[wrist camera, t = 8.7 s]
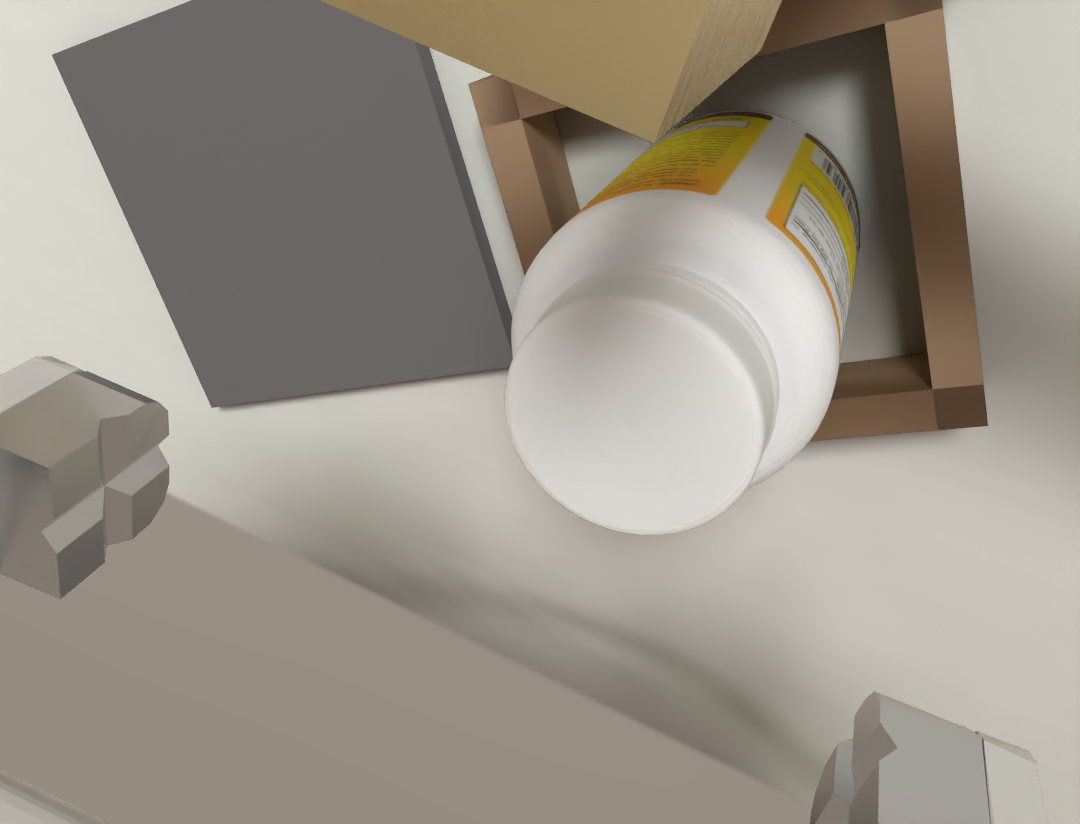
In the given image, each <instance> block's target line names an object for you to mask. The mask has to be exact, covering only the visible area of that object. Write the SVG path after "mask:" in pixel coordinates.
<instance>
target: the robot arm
mask: <svg viewBox="0 0 1080 824" xmlns="http://www.w3.org/2000/svg"><path fill="white" fill-rule="evenodd" d="M168 435H169V422H168V410H167V409H166V408H164V407H163V406H162V405H161V404H160V403H159V402H157V401H155V400H152V399H150V398H148V397H146V396H143V395H141V394H139V393H136V392H134V391H132V390H129V389H127V388H125V387H123V386H120V385H118V384H116V383H113V382H111V381H109V380H106V379H104V378H102V377H99V376H97V375H95V374H93V373H90V372H88V371H83V370H81V369H79V368H76V367H74V366H72V365H70V364H67V363H65V362H63V361H60V360H58V359H56V358H54V357H34V358H33V359H31V360H29V361H27V362H25V363H23V364H21V365H19V366H17V367H15V368H14V369H12V370H10V371H8V372H6V373H4V374H2V375H0V574H2V575H4V576H6V577H9V578H12V579H14V580H16V581H18V582H21V583H23V584H26V585H28V586H30V587H33V588H35V589H38V590H40V591H42V592H45V593H47V594H49V595H52V596H54V597H57V598H59V599H61V598H62V597H64V596H65V595H66V594H67V593H68V592H70V591H71V590H72V589H73V588H75V587H76V586H77V585H78V584H79V583H81V582H82V581H83V580H84V579H85V578H86V577H88V576H89V575H90V574H91V573H92V572H94V571H95V570H96V569H97V568H99V567H100V566H101V565H102V564H103V563H105V556H106V548H107V546H108V545H111V544H115V543H119V542H123V541H127V540H131V539H133V538H134V537H135V536H137V535H138V534H139V533H140V532H141V531H142V530H143V529H145V528H146V527H147V526H148V525H149V524H150V523H151V522H152V520H153V518H154V517H155V515H156V514H157V512H158V510H159V509H160V507H161V506H162V504H163V503H164V499H165V496H166V492H167V489H168V485H169V465H168V463H167V461H166V459H165V457H164V456H163V454H162V452H161V450H160V449H159V447H158V445H159V444H160V443H161V442H162V441H163V440H164V439H165V438H166V437H167V436H168ZM0 824H109V823H107V822H105V821H103V820H100V819H98V818H96V817H94V816H92V815H90V814H88V813H86V812H84V811H82V810H80V809H78V808H76V807H74V806H72V805H70V804H68V803H66V802H64V801H62V800H60V799H58V798H56V797H54V796H52V795H50V794H48V793H46V792H44V791H42V790H40V789H38V788H36V787H34V786H32V785H30V784H28V783H26V782H24V781H22V780H20V779H18V778H16V777H14V776H12V775H10V774H8V773H6V772H4V771H1V770H0ZM810 824H1046V818H1045V812H1044V806H1043V800H1042V794H1041V788H1040V782H1039V776H1038V770H1037V764H1036V760H1035V759H1034V757H1033V756H1032V754H1031V753H1030V751H1028V750H1025V749H1023V748H1020V747H1017V746H1015V745H1012V744H1010V743H1007V742H1004V741H1002V740H999V739H997V738H994V737H991V736H989V735H986V734H983V733H981V732H978V731H975V732H974V731H972V730H971V729H968V728H966V727H963V726H961V725H958V724H956V723H953V722H951V721H948V720H945V719H943V718H940V717H938V716H935V715H933V714H930V713H928V712H925V711H923V710H920V709H918V708H915V707H913V706H910V705H908V704H905V703H903V702H900V701H898V700H895V699H893V698H890V697H887V696H885V695H882V694H880V693H877V692H875V691H874V692H873V693H872V694H871V695H869V696H868V697H867V698H866V699H865V700H864V702H863V704H862V705H861V707H860V708H859V710H858V711H857V713H856V715H855V720H854V735H853V739H851V740H848V741H845V742H842V743H839V744H837V746H836V748H835V749H834V751H833V753H832V755H831V756H830V758H829V760H828V762H827V764H826V765H825V768H824V770H823V773H822V776H821V778H820V781H819V784H818V787H817V789H816V793H815V798H814V802H813V807H812V812H811V821H810Z"/></svg>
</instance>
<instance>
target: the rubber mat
mask: <svg viewBox="0 0 1080 824" xmlns="http://www.w3.org/2000/svg"><path fill="white" fill-rule="evenodd" d="M52 56H53V59H54V61H55V63H56V65H57V67H58V70H59V72H60V74H61V76H62V78H63V81H64V83H65V85H66V87H67V89H68V92H69V94H70V96H71V98H72V100H73V103H74V105H75V107H76V109H77V111H78V114H79V116H80V118H81V120H82V123H83V125H84V127H85V129H86V131H87V134H88V136H89V138H90V140H91V142H92V145H93V147H94V149H95V151H96V153H97V156H98V158H99V160H100V162H101V164H102V167H103V169H104V171H105V173H106V175H107V178H108V180H109V182H110V184H111V186H112V189H113V191H114V193H115V195H116V197H117V200H118V202H119V204H120V206H121V208H122V211H123V213H124V215H125V217H126V220H127V222H128V224H129V226H130V228H131V231H132V233H133V235H134V237H135V239H136V242H137V244H138V246H139V248H140V250H141V253H142V255H143V257H144V259H145V261H146V264H147V266H148V268H149V270H150V272H151V275H152V277H153V279H154V281H155V283H156V286H157V288H158V290H159V292H160V294H161V297H162V299H163V301H164V303H165V306H166V308H167V310H168V312H169V314H170V317H171V319H172V321H173V323H174V325H175V328H176V330H177V332H178V334H179V336H180V339H181V341H182V343H183V345H184V347H185V350H186V352H187V354H188V356H189V358H190V361H191V363H192V365H193V367H194V369H195V372H196V374H197V376H198V378H199V380H200V383H201V385H202V387H203V389H204V391H205V394H206V396H207V398H208V400H209V403H210V405H211V407H212V408H213V407H220V406H228V405H235V404H242V403H250V402H257V401H264V400H272V399H279V398H286V397H294V396H301V395H309V394H316V393H323V392H331V391H338V390H345V389H353V388H360V387H367V386H375V385H382V384H389V383H397V382H404V381H411V380H419V379H426V378H433V377H441V376H448V375H455V374H463V373H470V372H477V371H485V370H492V369H499V368H507V367H510V365H511V362H512V360H513V355H512V344H511V326H512V317H511V313H510V310H509V307H508V304H507V300H506V297H505V294H504V291H503V287H502V284H501V281H500V278H499V274H498V271H497V268H496V265H495V261H494V258H493V255H492V252H491V248H490V245H489V242H488V238H487V235H486V232H485V229H484V225H483V222H482V219H481V216H480V212H479V209H478V206H477V203H476V199H475V196H474V193H473V190H472V186H471V183H470V180H469V177H468V173H467V170H466V167H465V164H464V160H463V157H462V154H461V151H460V147H459V144H458V141H457V138H456V134H455V131H454V128H453V125H452V121H451V118H450V115H449V112H448V108H447V105H446V102H445V99H444V95H443V92H442V89H441V86H440V82H439V79H438V76H437V73H436V69H435V66H434V63H433V60H432V56H431V53H430V50H429V47H427V46H425V45H423V44H420V43H418V42H416V41H413V40H411V39H409V38H406V37H404V36H402V35H399V34H397V33H395V32H392V31H390V30H388V29H385V28H383V27H381V26H378V25H376V24H374V23H371V22H369V21H366V20H364V19H362V18H359V17H357V16H355V15H352V14H350V13H348V12H345V11H343V10H341V9H338V8H336V7H334V6H331V5H329V4H327V3H324V2H322V1H320V0H192V1H189V2H186V3H184V4H181V5H179V6H176V7H174V8H171V9H168V10H166V11H163V12H161V13H158V14H156V15H153V16H150V17H148V18H145V19H143V20H140V21H138V22H135V23H132V24H130V25H127V26H125V27H122V28H120V29H117V30H115V31H112V32H109V33H107V34H104V35H102V36H99V37H97V38H94V39H91V40H89V41H86V42H84V43H81V44H79V45H76V46H73V47H71V48H68V49H66V50H63V51H61V52H58V53H55V54H53V55H52Z"/></svg>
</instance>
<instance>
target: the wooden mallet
mask: <svg viewBox="0 0 1080 824" xmlns="http://www.w3.org/2000/svg"><path fill="white" fill-rule="evenodd" d="M320 1H322V2H324V3H327V4H329V5H331V6H334V7H336V8H338V9H341V10H343V11H345V12H348V13H350V14H352V15H355V16H357V17H359V18H362V19H364V20H366V21H369V22H371V23H374V24H376V25H378V26H381V27H383V28H385V29H388V30H390V31H392V32H395V33H397V34H399V35H402V36H404V37H406V38H409V39H411V40H413V41H416V42H418V43H420V44H423V45H425V46H427V47H430V48H432V49H434V50H437V51H439V52H441V53H444V54H446V55H448V56H451V57H453V58H455V59H458V60H460V61H462V62H465V63H467V64H469V65H472V66H474V67H476V68H479V69H481V70H483V71H486V72H488V73H490V74H493V75H495V76H497V77H500V78H502V79H504V80H507V81H509V82H511V83H514V84H516V85H518V86H521V87H523V88H525V89H528V90H530V91H532V92H535V93H537V94H539V95H542V96H544V97H546V98H549V99H551V100H553V101H556V102H558V103H560V104H563V105H565V106H567V107H570V108H572V109H574V110H577V111H579V112H581V113H584V114H586V115H589V116H591V117H593V118H596V119H598V120H600V121H603V122H605V123H607V124H610V125H612V126H614V127H617V128H619V129H621V130H624V131H626V132H628V133H631V134H633V135H635V136H638V137H640V138H642V139H645V140H647V141H649V142H652V143H655V142H656V141H658V140H659V139H660V138H661V137H662V136H663V135H664V134H666V133H667V132H668V131H669V130H670V129H671V128H672V127H674V126H675V125H676V124H677V123H678V122H679V121H680V120H682V119H683V118H684V117H685V116H686V115H687V114H688V113H690V112H691V111H692V110H693V109H694V108H695V107H696V106H698V105H699V104H700V103H701V102H702V101H703V100H704V99H706V98H707V97H708V96H709V95H710V94H711V93H712V92H713V91H715V90H716V89H717V88H718V87H719V86H720V85H721V84H723V83H724V82H725V81H726V80H727V79H728V78H729V77H731V76H732V75H733V74H734V73H735V72H736V71H737V70H739V69H740V68H741V67H742V66H743V65H744V64H745V63H747V62H748V61H749V60H750V59H751V58H752V57H753V56H755V55H756V54H757V53H758V52H759V51H760V50H761V49H762V46H763V44H764V42H765V39H766V37H767V35H768V32H769V30H770V28H771V25H772V23H773V21H774V18H775V16H776V13H777V11H778V9H779V6H780V4H781V2H782V0H320Z"/></svg>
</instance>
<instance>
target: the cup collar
mask: <svg viewBox="0 0 1080 824" xmlns="http://www.w3.org/2000/svg"><path fill="white" fill-rule="evenodd" d="M884 23H885V31H886V38H887V46H888V54H889V61H890V69H891V77H892V84H893V92H894V99H895V107H896V115H897V122H898V130H899V138H900V145H901V153H902V160H903V168H904V176H905V183H906V191H907V199H908V206H909V214H910V221H911V229H912V237H913V244H914V252H915V260H916V267H917V275H918V282H919V290H920V298H921V305H922V313H923V321H924V328H925V336H926V343H927V351H928V353H926V354H918V355H909V356H901V357H892V358H884V359H875V360H867V361H858V362H850V363H841V364H839V369H838V375H837V379H836V384H835V387H834V391H833V394H832V398H831V401H830V404H829V406H828V409H827V412H826V414H825V416H824V418H823V420H822V422H821V424H820V425H819V427H818V429H817V431H816V432H815V434H814V435H813V437H812V438H811V440H810V441H815V440H827V439H839V438H850V437H862V436H874V435H886V434H898V433H909V432H921V431H933V430H945V429H956V428H968V427H980V426H988V422H987V412H986V403H985V394H984V385H983V376H982V366H981V357H980V348H979V339H978V329H977V320H976V311H975V302H974V293H973V283H972V274H971V265H970V256H969V246H968V237H967V228H966V219H965V209H964V200H963V191H962V182H961V173H960V163H959V154H958V145H957V136H956V126H955V117H954V108H953V99H952V89H951V80H950V71H949V62H948V53H947V43H946V34H945V25H944V16H943V6H942V0H782V2H781V4H780V6H779V9H778V11H777V13H776V16H775V18H774V21H773V23H772V25H771V28H770V30H769V32H768V35H767V37H766V39H765V42H764V44H763V46H762V49H761V50H760V51H759V52H758V53H757V54H756V55H755V56H753V57H752V58H755V57H759V56H762V55H766V54H770V53H774V52H778V51H782V50H785V49H789V48H793V47H797V46H801V45H804V44H808V43H812V42H816V41H820V40H823V39H827V38H831V37H835V36H839V35H842V34H846V33H850V32H854V31H858V30H861V29H865V28H869V27H873V26H877V25H880V24H884ZM468 85H469V88H470V92H471V95H472V98H473V102H474V105H475V108H476V112H477V115H478V119H479V122H480V125H481V129H482V132H483V135H484V139H485V142H486V146H487V149H488V152H489V156H490V159H491V162H492V166H493V169H494V173H495V176H496V179H497V183H498V186H499V189H500V193H501V196H502V200H503V203H504V206H505V210H506V213H507V216H508V220H509V223H510V227H511V230H512V233H513V237H514V240H515V243H516V247H517V250H518V253H519V257H520V260H521V264H522V267H523V270H524V274H525V275H526V273H527V271H528V269H529V267H530V266H531V264H532V262H533V261H534V259H535V258H536V256H537V255H538V253H539V252H540V250H541V249H542V248H543V247H544V246H545V245H546V243H547V242H548V241H549V240H550V239H551V237H552V236H553V235H554V234H555V233H556V232H557V231H558V230H559V229H560V228H562V227H563V226H564V225H565V224H566V223H567V222H568V221H569V220H570V219H571V218H573V217H574V216H575V215H576V214H577V213H578V212H579V211H580V210H579V206H578V202H577V199H576V195H575V191H574V187H573V184H572V180H571V176H570V172H569V169H568V165H567V161H566V157H565V154H564V150H563V146H562V142H561V139H560V135H559V131H558V127H557V123H556V120H555V116H554V112H553V110H557V109H561V108H565V107H567V106H565V105H563V104H560V103H558V102H556V101H553V100H551V99H549V98H546V97H544V96H542V95H539V94H537V93H535V92H532V91H530V90H528V89H525V88H523V87H521V86H518V85H516V84H514V83H511V82H509V81H507V80H504V79H502V78H500V77H497V76H495V75H491V76H488V77H486V78H483V79H480V80H478V81H475V82H473V83H470V84H468Z"/></svg>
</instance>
